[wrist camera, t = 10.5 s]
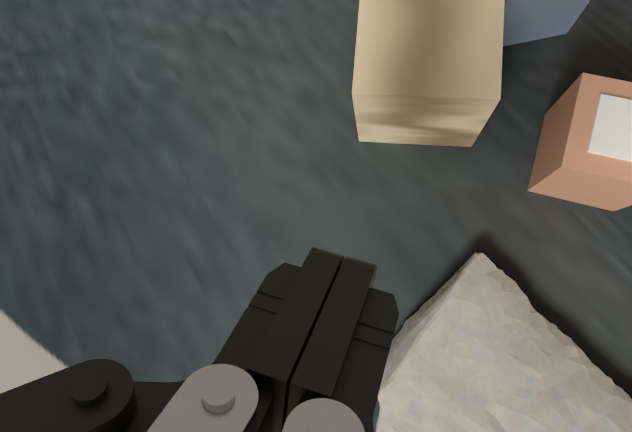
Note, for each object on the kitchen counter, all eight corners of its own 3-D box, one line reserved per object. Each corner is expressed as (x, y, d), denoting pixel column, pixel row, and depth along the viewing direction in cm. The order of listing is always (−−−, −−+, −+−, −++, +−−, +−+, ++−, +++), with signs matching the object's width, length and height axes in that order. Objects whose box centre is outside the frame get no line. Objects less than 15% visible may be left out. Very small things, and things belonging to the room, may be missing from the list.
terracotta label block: (630, 132, 31) (692, 92, 24) (613, 211, 30) (672, 190, 24) (545, 114, 31) (584, 70, 25) (527, 190, 31) (562, 165, 25)
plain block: (476, 41, 33) (506, -38, 25) (471, 147, 32) (500, 99, 24) (367, 39, 34) (362, -38, 26) (359, 141, 33) (351, 93, 25)
